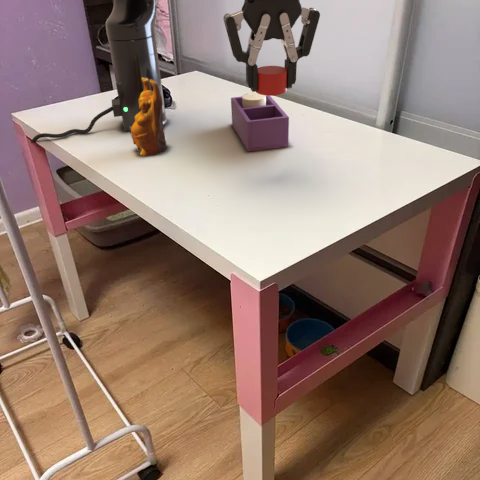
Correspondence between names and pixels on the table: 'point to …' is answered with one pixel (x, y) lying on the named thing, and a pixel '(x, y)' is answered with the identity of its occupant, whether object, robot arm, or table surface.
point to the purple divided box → (260, 125)
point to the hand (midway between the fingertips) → (270, 88)
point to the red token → (272, 80)
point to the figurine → (149, 121)
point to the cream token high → (253, 100)
